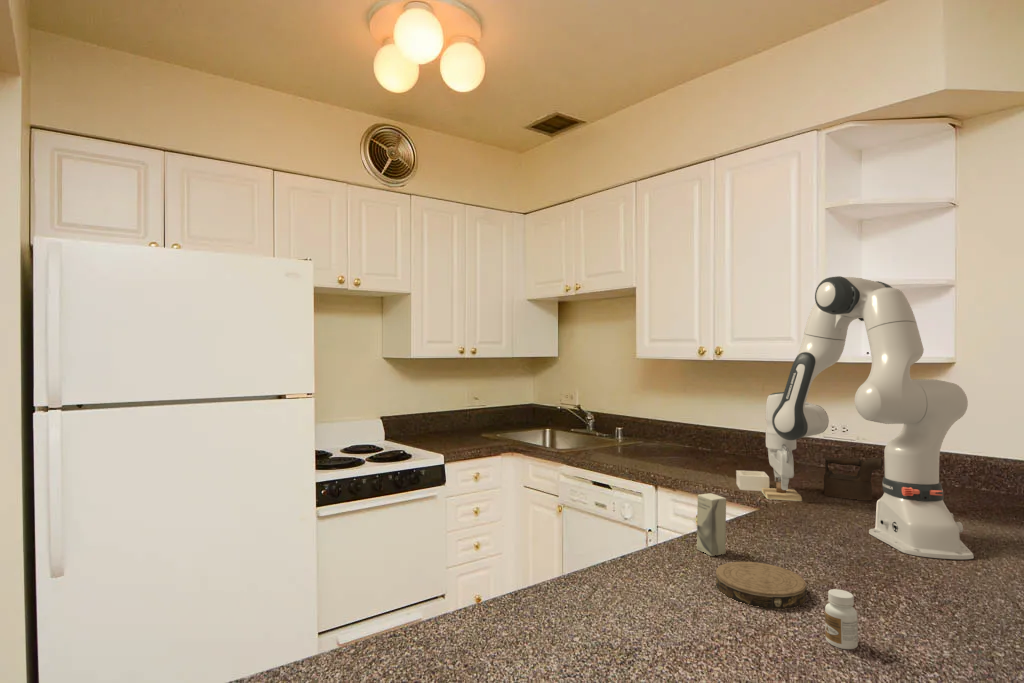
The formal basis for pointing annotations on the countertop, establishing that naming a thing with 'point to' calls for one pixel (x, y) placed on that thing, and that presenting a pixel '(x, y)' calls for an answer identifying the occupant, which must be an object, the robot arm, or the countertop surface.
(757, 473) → the dish
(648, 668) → the countertop surface
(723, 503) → the box
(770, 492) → the lid
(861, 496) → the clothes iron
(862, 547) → the countertop surface
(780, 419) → the robot arm
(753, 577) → the brown round disc
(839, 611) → the pill bottle
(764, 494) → the mat
